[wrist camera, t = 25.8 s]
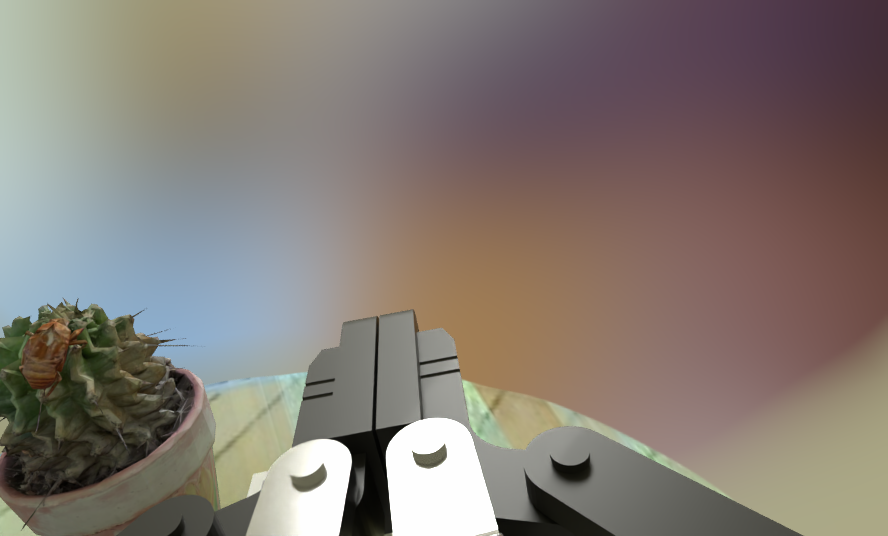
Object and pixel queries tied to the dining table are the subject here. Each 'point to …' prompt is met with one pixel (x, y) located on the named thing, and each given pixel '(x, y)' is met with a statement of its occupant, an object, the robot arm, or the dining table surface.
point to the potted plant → (97, 424)
